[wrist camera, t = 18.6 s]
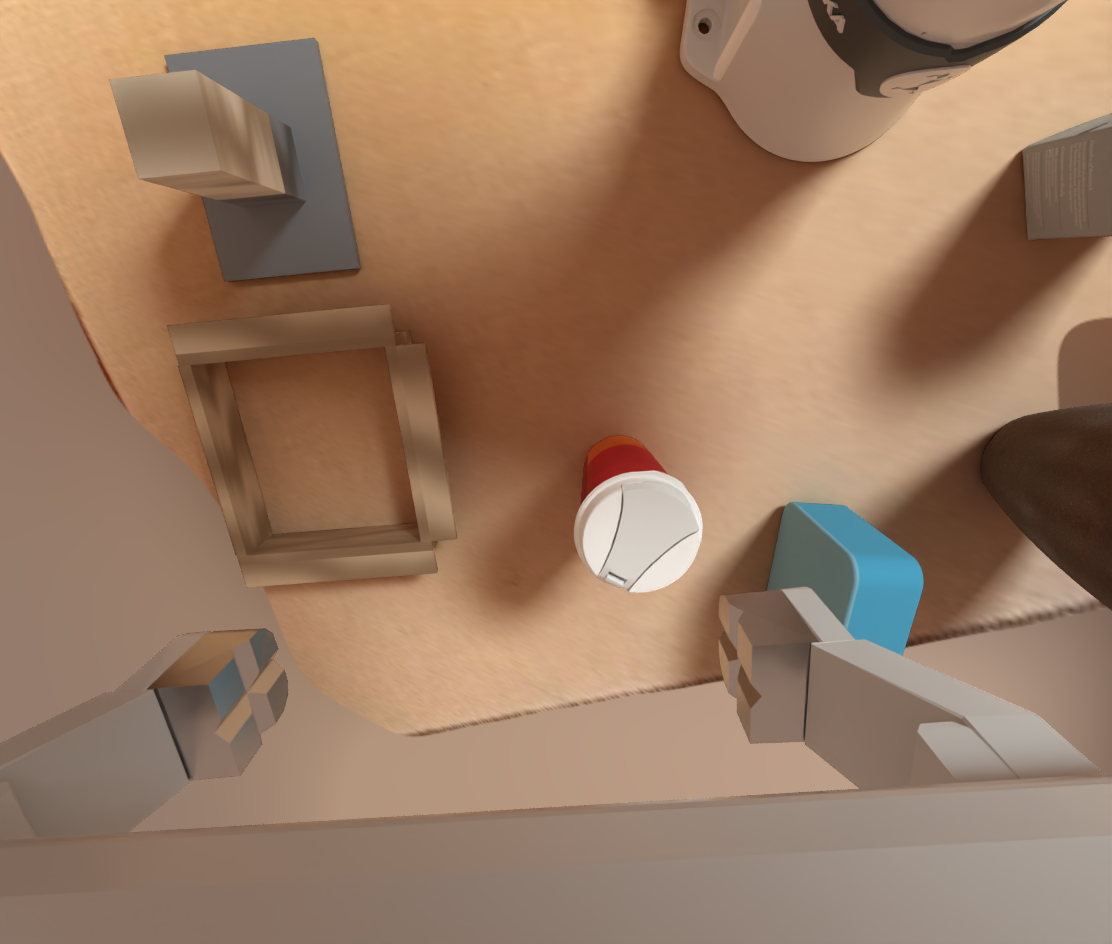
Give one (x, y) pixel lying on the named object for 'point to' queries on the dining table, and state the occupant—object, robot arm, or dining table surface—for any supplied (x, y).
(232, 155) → the box
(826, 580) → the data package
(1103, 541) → the plant pot
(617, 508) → the paper cup
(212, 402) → the wooden frame
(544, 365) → the dining table surface
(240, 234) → the rubber mat
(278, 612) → the dining table surface
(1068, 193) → the skincare box
